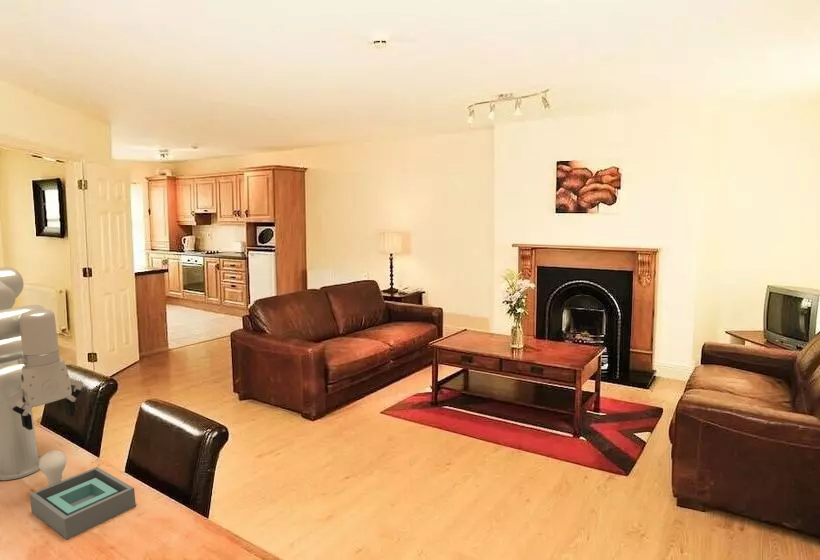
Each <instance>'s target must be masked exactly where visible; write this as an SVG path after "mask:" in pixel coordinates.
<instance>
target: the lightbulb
mask: <svg viewBox="0 0 820 560" xmlns="http://www.w3.org/2000/svg"><path fill="white" fill-rule="evenodd" d="M67 459H68V458H67V456H66V454H65V453H64V452H62V451H59V450H50V451H47V452H46V453H45V454H43V455H42V458H41V459H40V462H39V468H40V470H39V471H41V472H42V474H43V475H44V476H45V477H46V479H47V482H48V484H49V486H50V485H53V484H55V483H58V482H60V481H63V473H64V470H65V468H66V465H67V462H68V460H67Z"/></svg>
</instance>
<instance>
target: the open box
mask: <svg viewBox="0 0 820 560" xmlns="http://www.w3.org/2000/svg"><path fill="white" fill-rule="evenodd" d="M28 495H29V503H30V509H31V513H32V514H33V515H34V516H36V517H37V518H38V519H39V520H41V521H42V522H43V523H45V524H46V525H47V526H49V527H50V528H51V529H53V531H55V532H56V533H58V534H59V535H60V536H61V537H62V538H64V540H70V539H72V538H73V537H75V536H77V535H80V534H81V533H84V532H86V531H89V530H90V529H92V528H94V527H97V526H98V525H100V524H103V523H105V522H106V521H108V520H111V519H113V518H114V517H117V516H119V515H121V514H123V513H125V512H128V511H129V510H131V509H133V508H136V507H137V502H136V495H135V487H133V486H131V485H129V484H128V483H126V482H124V481H123V480H121V479H119V478H118V477H115V476H114V475H112V474H110V473H108V472H107V471H105V470H103V469H102V468H100V467H98V466H96V467H93V468H90V469H88V470H86V471H83V472H80V473H78V474H75V475H73V476H71V477H68V478H65V479H62V481H60V482H58V483H55V484H53V485H50V484H49V485H48V486H46V487H43V488H40V489H38V490H35V491H33V492H31V493H29V494H28Z"/></svg>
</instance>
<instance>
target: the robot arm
mask: <svg viewBox="0 0 820 560" xmlns="http://www.w3.org/2000/svg"><path fill="white" fill-rule="evenodd" d="M23 289H24V279H23V275H21V273H20V272H19V271H18V270H16V269H15V268H12V267H10V266H9V267H8V266H5V267H4V266H3V267H0V481H10V480H16V479H20V478H23V477H27V476H30V475H32V474H34V473H36V472H38V471H41V470H40V468H39V462H40V459H41V458H42V457H43V455H42V456H41V455H39V454H38V452H39V451H38V447H37V446H38V445H37V439H36V429H35V423H34V421H35V420H34V413H33V408H36V407H41V406H44V405H47V404H50V403H53V402H57V401H61V400H64V410H65V415H66V416H68V417H71V418H73V417H75V412H76V407H75V402H76V400H77V397H78V396H79V395H80V393H81V390H82V388H83V385H84V382H83V381H81V380H76V379H71V378H70V375H69V372H68V368H67V364H66V362H65V360H64V359H62V358H61V357H60V350H59V349H60V347H59V340H58V331H57V322H56V321H57V320H56V315H55V313H54V311H52V310H51V309H46V308H45V307H43V306H42V305H39V304H32V305H30V304H29V305H25V306H24V305H23V306H17V307H13V306H14V305H15V304H16V299H17V298H18V297H19V296H20V295H21V293H22V292H23ZM72 386H74V388H73V389H72Z"/></svg>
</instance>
